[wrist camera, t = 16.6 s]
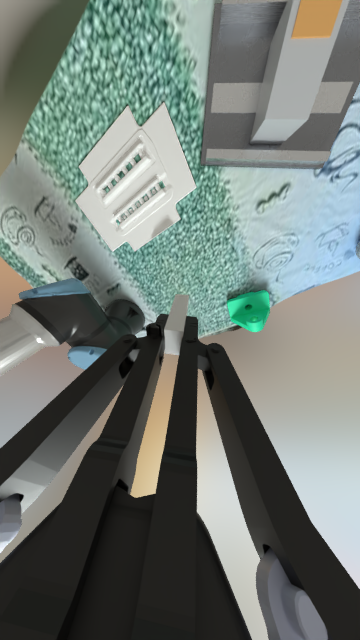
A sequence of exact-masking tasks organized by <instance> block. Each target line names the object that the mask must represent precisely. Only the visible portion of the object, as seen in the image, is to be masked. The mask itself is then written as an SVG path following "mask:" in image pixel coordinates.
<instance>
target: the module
mask: <svg viewBox="0 0 360 640" xmlns="http://www.w3.org/2000/svg"><path fill="white" fill-rule="evenodd" d="M348 3H349V0H288V1H287V4H286V6H285V9H284V11H283V14H282V16H281V19H280V21H279V24H278V26H277V29H276V31H275V34H274V36H273V39H272V41H271V45H270V50H269V55H268V59H267V64H266V69H265V73H264V78H263V83H262V87H261V92H260V97H259V101H258V106H257V111H256V116H255V120H254V125H253V130H252V134H251V139H250V144H283V143H284V142H285V141H286V140H287V139H288V138H289V137H290V136H291V135H292V134H293V133H294V132H295V131H296V130H297V129H298V128H300V127H301V126H302V125H303V124H304V123H305V122H306V121H307V120H308V118H309V116H310V113H311V110H312V107H313V104H314V101H315V98H316V95H317V92H318V90H319V87H320V84H321V81H322V78H323V75H324V72H325V69H326V66H327V64H328V61H329V58H330V55H331V52H332V49H333V46H334V43H335V40H336V38H337V35H338V32H339V29H340V26H341V23H342V20H343V17H344V14H345V12H346V9H347V6H348Z"/></svg>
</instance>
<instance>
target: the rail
mask: <svg viewBox="0 0 360 640" xmlns="http://www.w3.org/2000/svg"><path fill="white" fill-rule="evenodd" d="M287 1H288V0H222V3H221V4H215V11H214V22H213V33H212V44H211V55H210V67H209V78H208V89H207V100H206V111H205V122H204V133H203V145H202V156H201V166H225V167H259V168H293V169H321V168H323V165H324V163H325V162H326V161H327V160H328V157H329V155H330V153H331V151H330V149H331V147H332V145H333V142H334V140H335V138H336V135H337V133H338V131H339V128H340V126H341V124H342V122H343V119H344V117H345V115H346V112H347V110H348V108H349V105H350V103H351V101H352V99H353V96H354V94H355V92H356V89H357V87H358V85H359V82H360V0H349V3H348V6H347V9H346V12H345V14H344V17H343V20H342V23H341V26H340V29H339V32H338V35H337V38H336V40H335V43H334V46H333V49H332V52H331V55H330V58H329V61H328V64H327V66H326V69H325V72H324V75H323V78H322V81H321V84H320V87H319V90H318V92H317V95H316V98H315V101H314V104H313V107H312V110H311V113H310V116H309V118H308V120H307V121H306V122H305V123H304V124H303V125H302V126H301V127H300V128H298V129H297V130H296V131H295V132H294V133H293V134H292V135H291V136H290V137H289V138H288V139H287V140H286V141H285V142H284V143H283V144H250V139H251V134H252V130H253V125H254V120H255V116H256V111H257V106H258V101H259V97H260V92H261V87H262V83H263V78H264V73H265V69H266V64H267V59H268V55H269V50H270V45H271V41H272V39H273V36H274V34H275V31H276V29H277V26H278V24H279V21H280V19H281V16H282V14H283V11H284V9H285V6H286V4H287Z"/></svg>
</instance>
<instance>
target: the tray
mask: <svg viewBox="0 0 360 640" xmlns="http://www.w3.org/2000/svg"><path fill="white" fill-rule="evenodd" d="M137 154H139V155H140V158H141V160H140V161H139V162H138V163H137V164H136V162H135V160H134V157H135V156H136V155H137ZM129 163H131V165H132V167H133V168H132V169H131V170H130V171H129V172H128V170H127V168H126V166H127V165H128V164H129ZM79 168H80V170H81V171H82V173H83V174H84V176H85V177H86V179H87V180H88V187H87V188H86V189H85V190H84V191H83V192H82V193H81V195H80V196H79V197H78V198H77V199H76V200H75V201H76V203H77V204H78V205H79V207H80V208H81V210H82V211H83V212H84V214H85V215H86V216H87V218H88V219H89V220H90V222H91V223H92V225H93V226H94V227H95V229H96V230H97V231H98V233H99V234H100V235H101V237H102V238H103V240H104V241H105V242H106V244H107V245H108V246H109V248H110V249H111V250H112V251H114V250H115V249H117V248H118V247H119V246H121V245H122V244H123V243H125V242H128V243H129V244H130V245H131V247H132V248H133V250H134V251H136V250H138V249H139V248H140V247H142V246H143V245H145V244H146V243H147V242H149V241H150V240H152V239H153V238H155V237H156V236H157V235H159V234H160V233H162V232H163V231H164V230H166V229H167V228H169V227H170V226H172V225H173V224H174V223H176V222H177V221H179V220H180V219H181V218H180V216H179V214H178V212H177V210H176V203H177V202H178V201H180V200H181V199H182V198H184V197H185V196H186V195H187V194H189V193H190V192H191V191H193V190H194V189H195V188H196V185H195V182H194V180H193V177H192V174H191V172H190V169H189V166H188V163H187V161H186V158H185V156H184V153H183V151H182V148H181V145H180V142H179V140H178V137H177V135H176V132H175V129H174V126H173V124H172V121H171V119H170V116H169V113H168V111H167V108H166V106H165V103H164V102H163V103H162V105H161V106H160V107H159V108H158V109H157V110H156V111H155V112H154V113H153V115H152V116H151V117H150V118H149V119H148V120H147V121H146V122H145V123H144V125H143V126H139V125H138V124H137V123H136V120H135V118H134V116H133V114H132V112H131V109H130V107H129V106H127V107H126V108H125V110H124V111H123V112H122V113H121V114H120V116H119V117H118V118H117V120H116V121H115V122H114V123H113V124H112V126H111V127H110V128H109V129H108V131H107V132H106V133H105V134H104V136H103V137H102V138H101V139H100V141H99V142H98V143H97V144H96V146H95V147H94V148H93V149H92V151H91V152H90V153H89V154H88V155H87V157H86V158H85V159H84V161H83V162H82V163H81V164H80V165H79ZM121 171H123V173H124V174H125V176H124V177H123V178H122V179H120V177H119V175H117V174H119V173H120V172H121ZM114 178H115V180H116V181H117V184H116V185H115V186H114V187H113V185H112V183H111V181H112V180H113V179H114ZM161 180H162V181H163V183H164V185H165V188H163V189H161V188H160V186H159V184H158V183H159V182H160V181H161ZM106 186H108V187H109V189H110V191H109V192H108V193H106V192H105V190H103V189H102V188H105V187H106ZM153 187H155V188H156V190H157V193H156V191H155V189H153V190H152V193H153V194H155V193H156V194H155V195H154V196H153V195H152V193H151V192H150V190H151V189H152V188H153ZM145 194H147V196H148V197H149V200H148V198H147V196H145V197H144V199H145V201H146V202H144V200H143V198H142V197H143V196H144V195H145ZM138 200H139V202H140V203H139V202H138V203H137V204H136V205H137V207H138V209H137V207H136V205H135V203H136V202H137V201H138ZM147 200H148V201H147ZM140 204H141V205H142V206H140ZM130 207H132V209H133V210H134V212H133V210H132V209H130V210H129V211H130V213H131V215H130V213H129V212H128V209H129V208H130ZM123 213H125V215H126V216H127V218H126V216H125V215H123V216H122V217H123V219H125V220H123V219H122V217H121V215H122V214H123ZM117 219H118V220H119V222H120V223H121V224H120V225H119V226H118V224H117V223H116V220H117Z"/></svg>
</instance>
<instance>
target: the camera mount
mask: <svg viewBox="0 0 360 640" xmlns="http://www.w3.org/2000/svg"><path fill="white" fill-rule="evenodd" d="M248 304H250V305H249V306H247V307H245V306H246V305H248ZM227 306H228V310H229V314H230V318H231V321H232V322H234V323H236V324H238V325H240V326H241V327H243V328H245V329H247V330H249V331H252V332H258V331H260V330H262V329H263V327H264V325H265V323H266V320H267V318H268V316H269V313H270V305H269V293H268V292H267V291H266V290H262V291H258V292H249V293H246V294H242V295H239V296H237V298H233V299H229V300H228V301H227Z"/></svg>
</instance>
